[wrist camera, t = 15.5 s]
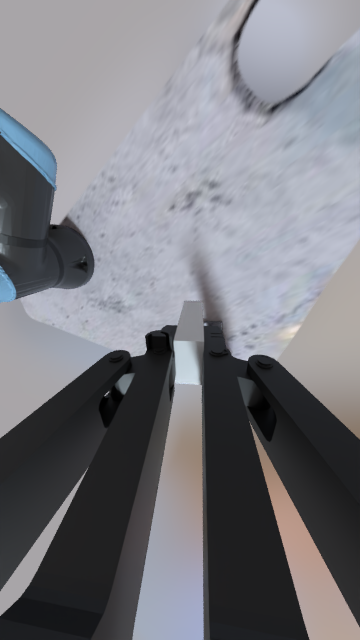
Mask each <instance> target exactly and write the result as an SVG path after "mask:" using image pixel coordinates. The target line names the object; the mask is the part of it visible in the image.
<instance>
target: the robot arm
mask: <svg viewBox="0 0 360 640" xmlns="http://www.w3.org/2000/svg"><path fill="white" fill-rule="evenodd" d="M56 170H57V163H56V159H55V157H54V155H53V153H52V152H51V150H50V149H49V148H48V147H47V146H46V145H45V144H44V143H43V142H42V141H41V140H40V139H39V138H38V137H36V136H35V135H34V134H33V133H31V132H30V131H29V130H28V129H27V128H25V127H24V126H23V125H22V124H20V123H19V122H18V121H16V120H15V119H14V118H13V117H11V116H10V115H9V114H7V113H6V112H5V111H3V110H2V109H1V108H0V303H1V302H10V301H12V300H15V299H18V298H21V297H24V296H27V295H30V294H34V293H37V292H40V291H43V290H46V289H49V288H63V289H74V288H77V287H80V286H83V285H85V284H86V283H87V282H88V281H89V280H90V279H91V277H92V275H93V272H94V258H93V254H92V251H91V249H90V247H89V245H88V244H87V242H86V241H85V239H84V238H83V237H82V236H81V235H80V234H79V233H77V232H76V231H75V230H73V229H71V228H69V227H66V226H62V225H53V224H52V225H50V220H51V212H52V206H53V199H54V192H55V191H56V185H55V181H56ZM145 338H146V347H147V351H146V353H145V354H144V355H141V356H136V357H131V355H130V353H129V352H128V351H125V350H116V351H113V352H110V353H108V354H107V355H105V356H104V357H103V358H101V359H100V360H99V361H98V362H96V363H95V364H94V365H92V366H91V367H90V368H89V369H88V370H86V371H85V372H84V373H82V374H81V375H80V376H79V377H77V378H76V379H75V380H74V381H72V382H71V383H70V384H68V385H67V386H66V387H65V388H63V389H62V390H61V391H60V392H58V393H57V394H56V395H55V396H53V397H52V398H51V399H49V400H48V401H47V402H46V403H44V404H43V405H42V406H41V407H39V408H38V409H37V410H36V411H34V412H33V413H32V414H31V415H29V416H28V417H27V418H26V419H24V420H23V421H22V422H20V423H19V424H18V425H17V426H15V427H14V428H13V429H12V430H10V431H9V432H8V433H6V435H4V436H3V437H1V438H0V591H1V589H2V588H3V586H4V585H5V584H6V582H7V581H8V579H9V578H10V577H11V575H12V574H13V572H14V571H15V570H16V568H17V567H18V565H19V564H20V562H21V561H22V560H23V558H24V557H25V556H26V554H27V553H28V551H29V550H30V549H31V547H32V546H33V544H34V543H35V542H36V540H37V539H38V537H39V536H40V534H41V533H42V532H43V530H44V529H45V527H46V526H47V525H48V523H49V522H50V520H51V519H52V518H53V516H54V515H55V513H56V512H57V510H58V509H59V508H60V506H61V505H62V504H63V502H64V501H65V499H66V498H67V496H68V495H69V494H70V492H71V491H72V489H73V488H74V487H75V485H76V484H77V482H78V481H79V480H80V478H81V477H82V475H83V474H84V473H85V471H86V470H87V468H88V467H89V468H88V470H87V472H86V474H85V476H84V478H83V480H82V482H81V484H80V486H79V488H78V490H77V492H76V494H75V496H74V498H73V500H72V502H71V504H70V506H69V508H68V510H67V512H66V514H65V516H64V518H63V520H62V522H61V524H60V526H59V528H58V530H57V532H56V534H55V536H54V538H53V540H52V542H51V544H50V546H49V548H48V550H47V552H46V554H45V556H44V558H43V560H42V562H41V564H40V566H39V568H38V571H37V572H36V574H35V576H34V578H33V579H32V582H31V583H30V585H29V586H28V587H27V589H26V590H25V592H24V593H23V594H22V596H21V597H20V598H19V599H18V600H17V601H16V602H15V603H14V604H13V605H12V606H11V607H10V608H9V609H8V610H6V611H5V612H4V613H3V614H2V615H1V616H0V640H132V636H133V629H134V622H135V617H136V611H137V605H138V600H139V594H140V588H141V583H142V577H143V571H144V565H145V559H146V553H147V547H148V541H149V536H150V530H151V524H152V518H153V513H154V507H155V501H156V495H157V489H158V483H159V478H160V472H161V466H162V460H163V455H164V449H165V443H166V437H167V432H168V426H169V420H170V414H171V408H172V403H173V396H174V381H175V382H176V383H182V384H198V385H202V451H203V452H202V453H203V454H202V458H203V459H202V460H203V597H204V640H309V637H308V634H307V630H306V627H305V624H304V621H303V617H302V613H301V609H300V606H299V602H298V599H297V595H296V591H295V588H294V584H293V580H292V576H291V573H290V569H289V565H288V562H287V558H286V555H285V551H284V547H283V543H282V539H281V536H280V532H279V528H278V525H277V521H276V518H275V514H274V510H273V506H272V503H271V499H270V495H269V492H268V488H267V484H266V481H265V477H264V473H263V470H262V466H261V462H260V459H259V455H258V451H257V448H256V444H255V440H254V437H253V433H252V429H251V426H250V423H251V425H252V427H253V429H254V431H255V432H256V434H257V436H258V438H259V440H260V442H261V443H262V445H263V447H264V449H265V451H266V452H267V455H268V457H269V459H270V460H271V462H272V464H273V466H274V468H275V470H276V472H277V473H278V475H279V477H280V479H281V481H282V483H283V485H284V486H285V488H286V490H287V492H288V494H289V496H290V498H291V500H292V501H293V503H294V505H295V507H296V509H297V511H298V513H299V515H300V516H301V518H302V520H303V522H304V524H305V526H306V528H307V530H308V531H309V533H310V535H311V537H312V539H313V541H314V543H315V545H316V546H317V548H318V550H319V552H320V554H321V556H322V558H323V559H324V561H325V563H326V565H327V567H328V569H329V571H330V572H331V574H332V576H333V578H334V580H335V582H336V584H337V586H338V588H339V589H340V591H341V593H342V595H343V597H344V599H345V601H346V602H347V604H348V606H349V608H350V610H351V612H352V614H353V616H354V617H355V619H356V621H357V623H358V625H359V627H360V439H358V438H357V437H356V436H355V435H354V434H353V433H352V432H351V431H350V430H349V429H348V428H347V427H346V426H345V425H344V424H343V423H342V422H341V421H339V419H337V418H336V417H335V416H334V415H333V414H332V413H331V412H330V411H329V410H328V409H327V408H326V407H325V406H324V405H323V404H322V403H320V401H319V400H318V399H316V398H315V397H314V396H313V395H312V394H311V393H310V392H309V391H308V390H307V389H306V388H305V387H304V386H303V385H302V384H301V383H300V382H299V381H298V380H296V379H295V378H294V377H293V376H292V375H291V374H290V373H289V372H288V371H287V370H286V369H285V368H284V367H283V366H282V365H281V364H280V363H279V362H278V361H276V360H275V359H273V358H271V357H269V356H265V355H253V356H251V357H249V359H248V361H245V360H240V359H237V358H235V357H233V356H231V353H230V351H229V350H228V349H226V345H225V341H224V338H223V333H222V329H221V328H220V327H218V326H203V301H184V305H183V308H182V312H181V315H180V319H179V323H178V326H176V325H166V326H165V327H163V328H162V330H156V331H152V332H150V333H148V334H147V335H146V336H145ZM108 391H109V393H108V395H106V396H104V395H105V394H106V393H107V392H108ZM249 421H250V422H249Z"/></svg>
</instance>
